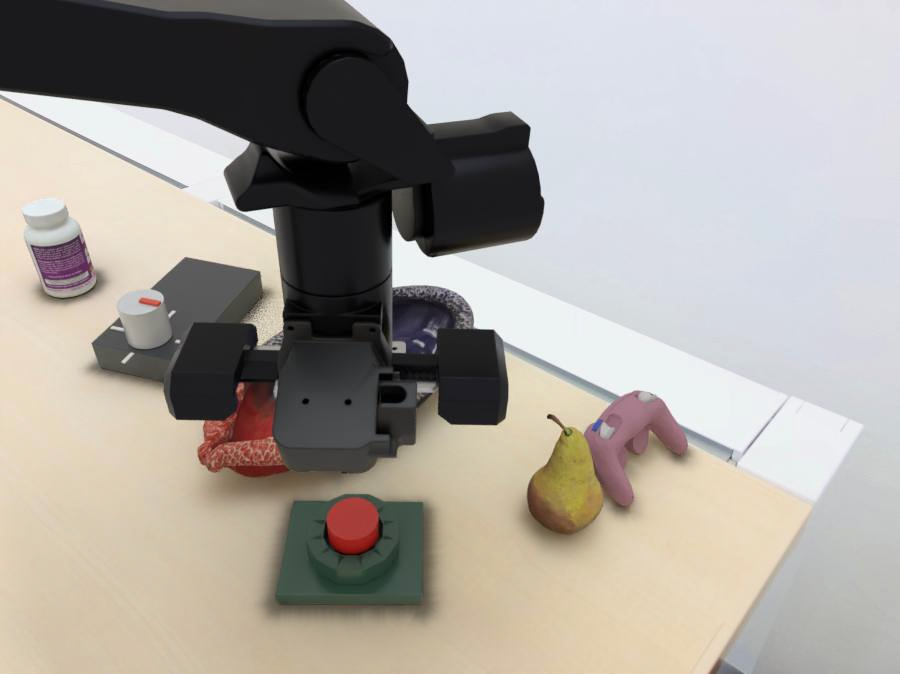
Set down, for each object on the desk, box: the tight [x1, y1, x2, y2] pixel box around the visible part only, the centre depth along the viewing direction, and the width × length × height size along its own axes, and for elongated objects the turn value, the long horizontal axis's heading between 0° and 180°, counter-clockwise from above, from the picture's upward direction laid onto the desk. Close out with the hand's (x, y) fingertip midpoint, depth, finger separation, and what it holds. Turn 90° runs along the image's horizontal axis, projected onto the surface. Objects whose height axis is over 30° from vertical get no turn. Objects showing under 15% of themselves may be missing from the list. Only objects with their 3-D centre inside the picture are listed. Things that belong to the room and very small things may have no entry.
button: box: [327, 498, 379, 555], centre depth 49 cm, size 4×4×2 cm
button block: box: [275, 493, 424, 605], centre depth 50 cm, size 10×8×3 cm
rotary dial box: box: [91, 256, 264, 383], centre depth 69 cm, size 18×9×3 cm, turn 166°
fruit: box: [526, 413, 604, 536], centre depth 51 cm, size 6×6×12 cm
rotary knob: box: [116, 288, 172, 349], centre depth 64 cm, size 4×4×4 cm
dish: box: [196, 284, 475, 479], centre depth 63 cm, size 16×31×5 cm, turn 138°
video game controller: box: [583, 389, 689, 507], centre depth 58 cm, size 10×5×7 cm, turn 135°
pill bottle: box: [21, 197, 97, 299], centre depth 73 cm, size 5×5×10 cm
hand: (348, 468), depth 45 cm, fingers closed
